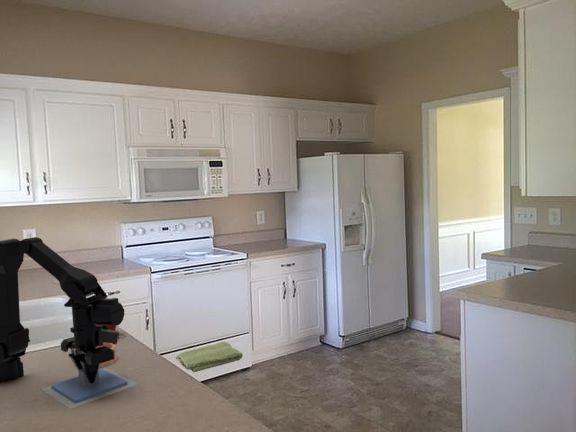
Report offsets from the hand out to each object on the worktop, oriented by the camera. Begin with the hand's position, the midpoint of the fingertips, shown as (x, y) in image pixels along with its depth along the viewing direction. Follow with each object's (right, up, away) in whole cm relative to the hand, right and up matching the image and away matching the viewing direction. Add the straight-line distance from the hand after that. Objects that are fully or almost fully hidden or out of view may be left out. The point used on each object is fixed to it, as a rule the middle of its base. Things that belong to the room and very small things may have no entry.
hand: (89, 381), depth 134 cm
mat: (0, -2, 0) cm, 2 cm away
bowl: (-5, -1, +18) cm, 19 cm away
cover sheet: (0, -1, 0) cm, 1 cm away
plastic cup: (-11, +1, +44) cm, 45 cm away
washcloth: (+29, 0, +19) cm, 34 cm away
